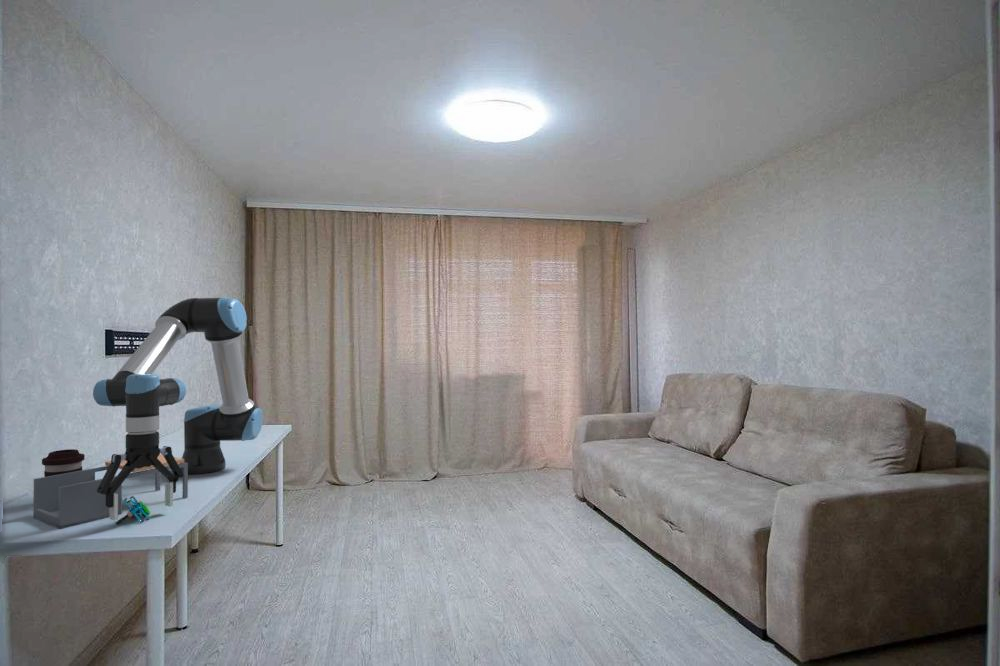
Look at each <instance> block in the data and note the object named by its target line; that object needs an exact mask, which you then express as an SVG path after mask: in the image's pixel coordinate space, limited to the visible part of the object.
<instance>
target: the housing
mask: <svg viewBox="0 0 1000 666" xmlns="http://www.w3.org/2000/svg"><path fill="white" fill-rule="evenodd" d="M178 466H179V467H180V468H181V467H183V475H184V476H183V477H182V499H187V497H189V495H188V494H189V492H188V491H189V489H188V487H189V482H188V481H189V479H188V477H189V476H188V475H189V474H188V463H179V464H178ZM108 467H109V466H106V465H104V466H98V467H93V468H87V469H82V470H81V471H76V472H70V473H64V474H59V475H53V476H48V477H45V476H42V477H37V478H33V519H35V520H37V521H41V522H42V523H44V524H48V525H49V526H52V527H54V528H57V529H59V530H63V529H66V528H71V527H74V526H79V525H82V524H86V523H90V522H91V523H92V522H95V521H98V520H99V521H100V520H103V519H106V518H109V508H108V507H106V495H105V494H101V493H98V492H97V489H98V487H99V485H100V483H101V481H102V479H103V478H99V479H96V473H97V472H98V473H99V472H102V471H107V469H108ZM165 467H166V468H167V469H168V470H169V471H170V470H171V468H170V467H169V466H165ZM171 471H172V470H171ZM150 474H154V480H155V481H154V483H155V486H154V488H155V489H154V490H155V491H156V492H158V491H161V473H160V472H159V471H158V470H157V469H156V468H153V469H148V470H143V471H138V472H131V473H130V474H129V475H128V477H127V478H126V479H130V478H136V477H140V476H145V475H150ZM116 476H117V475H115V476H114V478H113V480H114V479H115V478H116ZM113 480H112V481H113ZM111 483H112V482H111ZM122 484H123V483H122ZM122 484H121V485H120V487H119V488H118V489H117V490H116V492H115V493H116V494H118V516H119V515H122V514H123V513H122V511H123V509H122V506H123V505H122V504H123V503H122V502H123V497H122V496H123V495H122V494H123V493H122V492H123V491H122V489H123V486H122Z"/></svg>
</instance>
